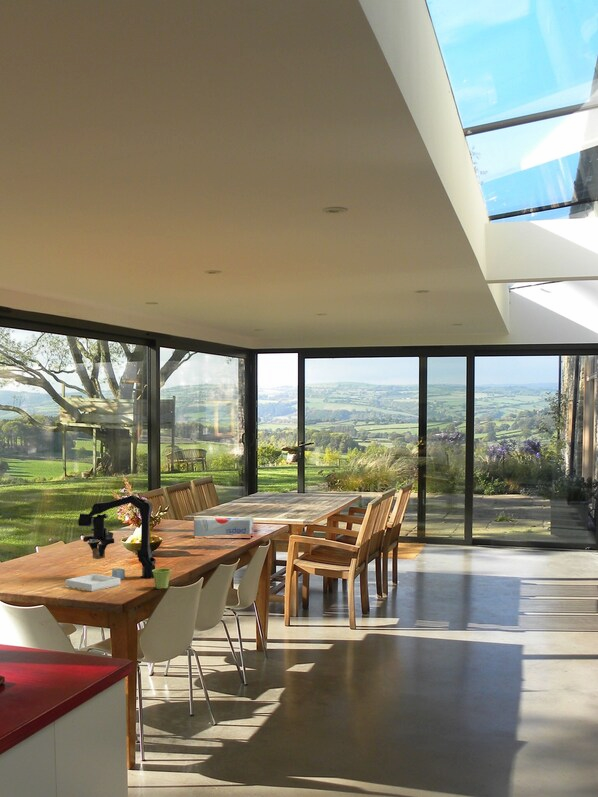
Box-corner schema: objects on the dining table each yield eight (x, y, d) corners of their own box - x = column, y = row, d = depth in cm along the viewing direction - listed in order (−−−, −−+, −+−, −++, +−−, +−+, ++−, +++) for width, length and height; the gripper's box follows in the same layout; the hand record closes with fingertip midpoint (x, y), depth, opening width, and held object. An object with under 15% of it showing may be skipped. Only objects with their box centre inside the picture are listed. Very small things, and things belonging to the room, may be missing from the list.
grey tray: (120, 585, 391) (120, 578, 391) (91, 591, 376) (91, 584, 376) (94, 580, 402) (94, 573, 402) (65, 586, 388) (65, 579, 388)
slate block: (124, 578, 407) (124, 569, 407) (118, 580, 403) (118, 570, 403) (118, 577, 409) (118, 568, 410) (112, 579, 406) (112, 569, 406)
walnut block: (104, 557, 412) (104, 548, 412) (98, 559, 409) (98, 549, 409) (99, 557, 415) (99, 547, 415) (92, 558, 411) (92, 548, 411)
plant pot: (148, 589, 382) (148, 571, 382) (158, 585, 391) (158, 567, 391) (164, 590, 379) (164, 572, 379) (174, 586, 387) (174, 569, 388)
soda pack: (254, 537, 549) (254, 517, 550) (250, 540, 536) (250, 519, 537) (198, 536, 555) (198, 516, 555) (193, 538, 542) (193, 518, 542)
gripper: (122, 526, 413) (122, 555, 413) (99, 523, 424) (99, 552, 424) (105, 528, 404) (105, 558, 404) (82, 525, 415) (82, 555, 415)
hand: (98, 556), depth 412 cm, fingers closed on walnut block, 4 cm apart
